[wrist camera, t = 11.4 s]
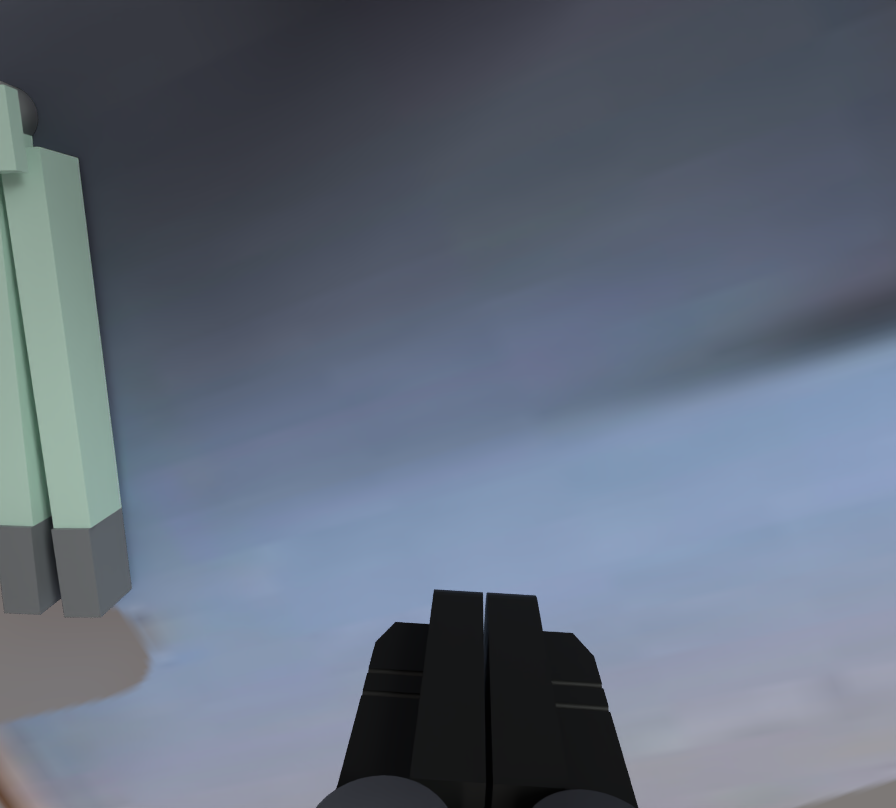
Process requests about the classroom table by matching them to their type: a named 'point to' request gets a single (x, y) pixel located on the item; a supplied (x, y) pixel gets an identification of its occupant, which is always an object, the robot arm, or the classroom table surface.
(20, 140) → the tongs arm
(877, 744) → the classroom table surface
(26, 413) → the bar
